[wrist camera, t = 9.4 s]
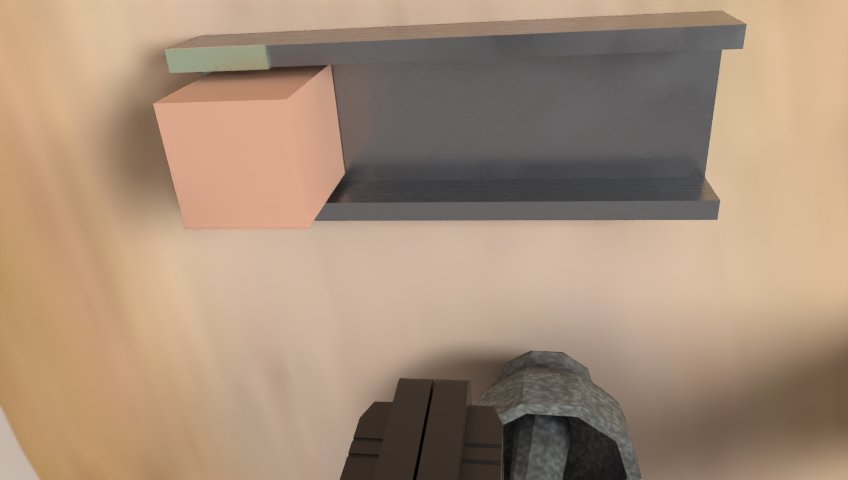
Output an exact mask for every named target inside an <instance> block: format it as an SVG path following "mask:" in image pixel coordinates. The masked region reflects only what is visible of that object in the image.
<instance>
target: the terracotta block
mask: <svg viewBox="0 0 848 480" xmlns="http://www.w3.org/2000/svg"><path fill="white" fill-rule="evenodd" d="M153 106H154V110H155V114H156V118H157V122H158V125H159V129H160V133H161V137H162V141H163V145H164V149H165V153H166V157H167V161H168V164H169V168H170V172H171V176H172V180H173V184H174V188H175V192H176V196H177V199H178V203H179V207H180V211H181V215H182V219H183V223H184V227H185V229H308V228H309V227H310V225H311V224H312V222H313V221H314V219H315V218H316V216H317V215H318V213H319V212H320V210H321V209H322V207H323V206H324V204H325V203H326V201H327V200H328V198H329V197H330V195H331V194H332V192H333V191H334V189H335V188H336V186H337V185H338V183H339V182H340V180H341V179H342V177H343V176H344V174H345V170H344V162H343V154H342V146H341V138H340V131H339V123H338V115H337V107H336V100H335V92H334V84H333V76H332V69H331V65H314V66H289V67H270V69H263V70H237V71H212V72H210V73H209V74H207V75H205V76H203V77H201V78H199V79H197V80H196V81H194V82H192V83H190V84H188V85H186V86H185V87H183V88H181V89H179V90H177V91H175V92H173V93H172V94H170V95H168V96H166V97H164V98H162V99H160V100H159V101H157V102H155V103H153Z"/></svg>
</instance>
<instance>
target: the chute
mask: <svg viewBox="0 0 848 480" xmlns="http://www.w3.org/2000/svg"><path fill="white" fill-rule="evenodd" d="M745 31H746V24H745V23H744V22H742V21H740V20H738V19H736V18H734V17H733V16H731V15H729V14H727V13H725V12H723V11H709V12H688V13H667V14H646V15H625V16H604V17H583V18H562V19H541V20H520V21H499V22H478V23H457V24H436V25H415V26H394V27H373V28H353V29H332V30H311V31H290V32H269V33H248V34H227V35H206V36H199V37H197V38H194V39H192V40H189V41H187V42H185V43H182V44H180V45H177V46H175V47H172V48H170V49H165V50H164V52H165V56H166V60H167V64H168V68H169V73H186V72H202V76H205V75H207V74H209V73H210V72H212V71H237V70H263V69H270V67H289V66H314V65H331V69H332V76H333V84H334V92H335V100H336V107H337V115H338V123H339V131H340V138H341V146H342V154H343V162H344V170H345V174H344V176H343V177H342V179H341V180H340V182H339V183H338V185H337V186H336V188H335V189H334V191H333V192H332V194H331V195H330V197H329V198H328V200H327V201H326V203H325V204H324V206H323V207H322V209H321V210H320V212H319V213H318V215H317V216H316V218H315V219H314V221H347V220H717V218H718V211H719V204H720V200H719V198H718V197H717V195H716V194H715V192H714V190H713V189H712V187H711V186H710V184H709V183H708V181H707V180H706V178H705V170H706V163H707V156H708V148H709V141H710V133H711V126H712V119H713V111H714V104H715V97H716V89H717V82H718V74H719V67H720V60H721V52H722V49H743V44H744V37H745Z"/></svg>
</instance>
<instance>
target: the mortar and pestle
mask: <svg viewBox="0 0 848 480" xmlns="http://www.w3.org/2000/svg"><path fill="white" fill-rule="evenodd" d="M477 406H494V408H495V410H496V412H497V414H498V416H499V418H500V420H501V422H502V424H503V465H504V480H640V479H641V475H640V470H639V465H638V460H637V457H636V453H635V450H634V447H633V443H632V440H631V437H630V433H629V430H628V427H627V423H626V420H625V417H624V415H623V413H622V410H621V408H620V406H619V404H618V402H617V401H616V400H615V399H614V398H612V397H611V396H610V395H609V394H608V393H606V392H605V391H604V390H602V389H601V388H599V387H598V386H596V385H594V384H593V383H592V381H591V378H590V375H589V372H588V369H587V368H586V367H584V366H583V365H581V364H580V363H578V362H577V361H575V360H574V359H572V358H571V357H569V356H568V355H566V354H565V353H563V352H545V351H530V352H528V353H526V354H524V355H522V356H520V357H519V358H517V359H515V360H513V361H511V362H509V363H507V364H506V365H505V367H504V369H503V372H502V374H501V376H500V379H499V381H498V382H497V383H495V384H493V385H492V386H491V387H490V388H488V389H487V390H486V391H485V392H484V393H483V394H482V396H481V398H480V400H479V403H478V405H477Z"/></svg>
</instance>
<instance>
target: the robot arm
mask: <svg viewBox="0 0 848 480" xmlns="http://www.w3.org/2000/svg"><path fill="white" fill-rule="evenodd" d="M340 480H504V465H503V424H502V422H501V420H500V418H499V416H498V414H497V412H496V410H495V408H494V406H473V405H472V404H471V384H470V381H467V380H439V379H436V381H434V379H407V378H400V380H399V382H398V385H397V389H396V393H395V397H394V400H393V402H374V403H373V404H372V405H371V406H370V407H369V408H368V410H367V411H366V412H365V413H364V414H363V415H362V416H361V417H360V419H359V422H358V425H357V428H356V431H355V435H354V440H353V441H352V444H351V447H350V450H349V456H348V457H347V459H346V462H345V466H344V469H343V472H342V475H341V478H340Z"/></svg>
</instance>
